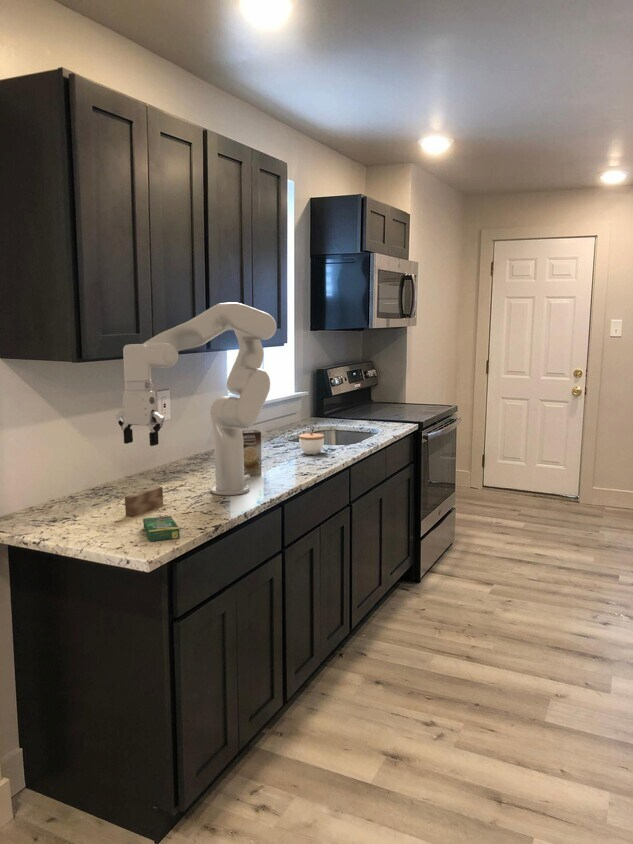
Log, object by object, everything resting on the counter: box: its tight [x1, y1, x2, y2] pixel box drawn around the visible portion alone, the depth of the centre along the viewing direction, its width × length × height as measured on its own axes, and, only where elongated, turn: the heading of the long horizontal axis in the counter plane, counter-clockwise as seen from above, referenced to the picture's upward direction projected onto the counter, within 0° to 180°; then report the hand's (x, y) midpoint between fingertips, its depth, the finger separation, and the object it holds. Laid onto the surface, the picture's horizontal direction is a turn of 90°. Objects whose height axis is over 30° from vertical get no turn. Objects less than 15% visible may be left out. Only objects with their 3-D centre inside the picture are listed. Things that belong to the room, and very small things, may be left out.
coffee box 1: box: [142, 515, 181, 542], centre depth 182 cm, size 8×3×13 cm
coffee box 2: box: [242, 429, 263, 477], centre depth 249 cm, size 9×6×16 cm
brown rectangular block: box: [124, 485, 164, 518], centre depth 203 cm, size 14×2×6 cm, turn 154°
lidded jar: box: [298, 431, 325, 455], centre depth 288 cm, size 11×11×9 cm
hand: (141, 444), depth 201 cm, fingers open, 9 cm apart
